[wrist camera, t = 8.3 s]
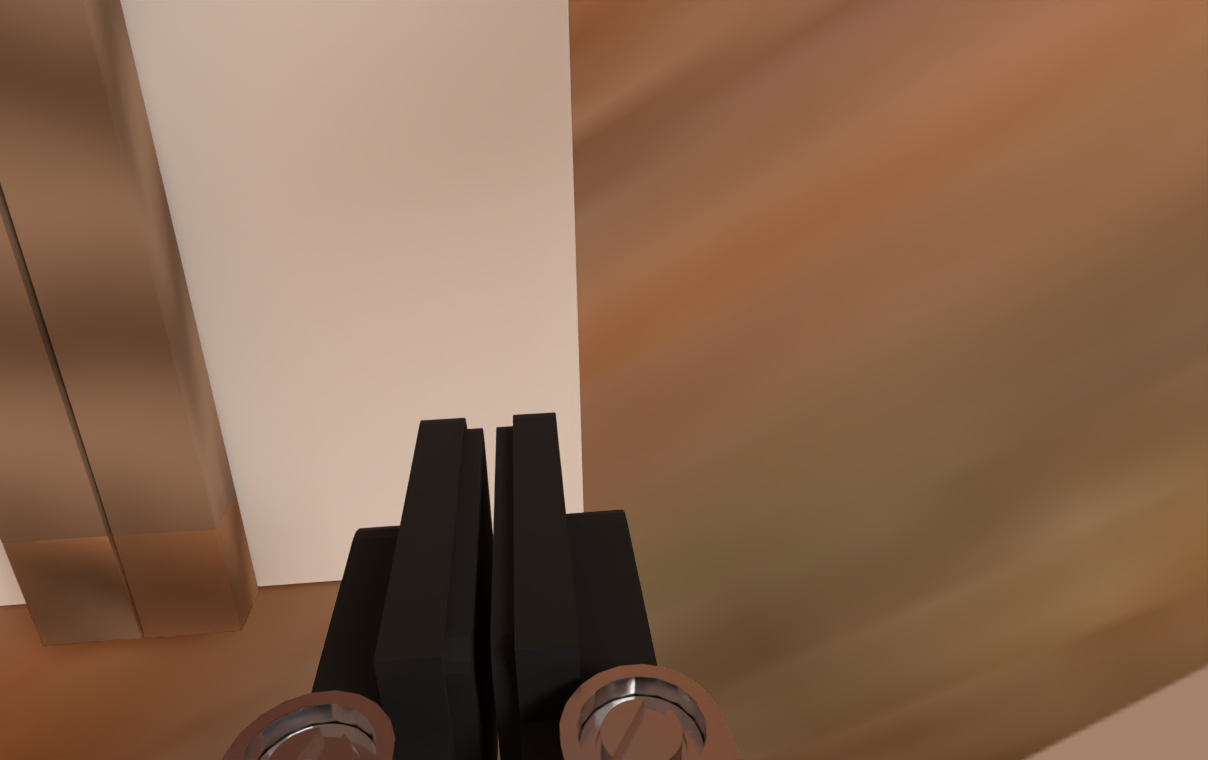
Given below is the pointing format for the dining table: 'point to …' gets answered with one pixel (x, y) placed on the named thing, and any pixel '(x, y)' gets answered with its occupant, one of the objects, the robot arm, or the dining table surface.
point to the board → (364, 243)
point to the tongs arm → (120, 310)
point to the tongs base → (51, 480)
